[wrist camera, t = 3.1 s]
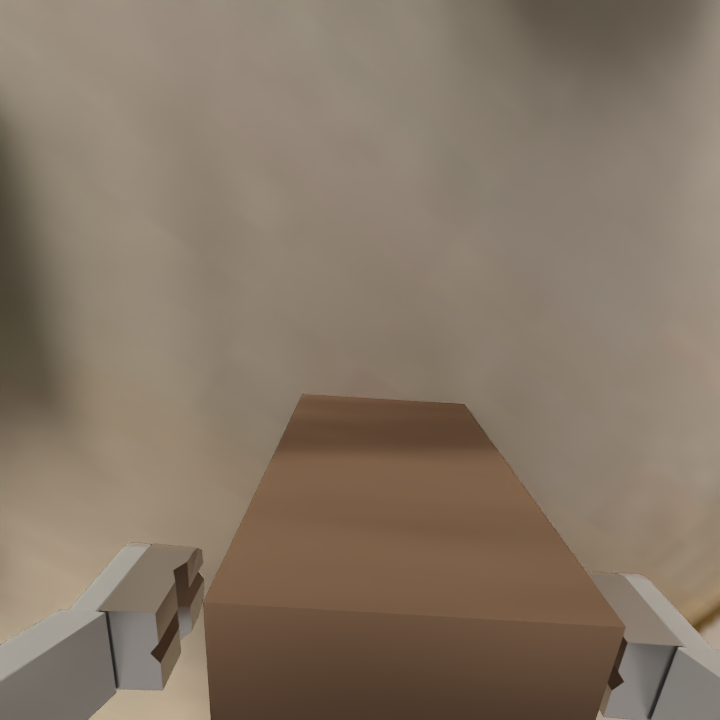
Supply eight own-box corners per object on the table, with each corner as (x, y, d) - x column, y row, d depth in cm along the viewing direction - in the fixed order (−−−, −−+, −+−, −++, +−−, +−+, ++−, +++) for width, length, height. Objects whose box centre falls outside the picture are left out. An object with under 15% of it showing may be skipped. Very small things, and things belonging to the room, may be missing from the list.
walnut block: (302, 393, 11) (203, 602, 4) (464, 404, 11) (626, 627, 4) (299, 530, 12) (220, 858, 5) (444, 539, 12) (543, 876, 5)
